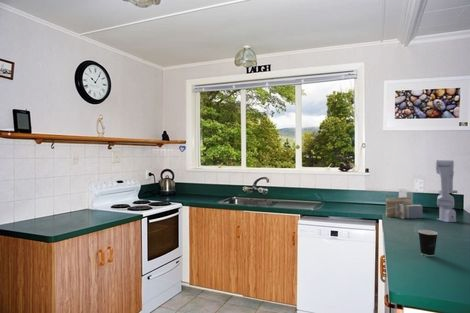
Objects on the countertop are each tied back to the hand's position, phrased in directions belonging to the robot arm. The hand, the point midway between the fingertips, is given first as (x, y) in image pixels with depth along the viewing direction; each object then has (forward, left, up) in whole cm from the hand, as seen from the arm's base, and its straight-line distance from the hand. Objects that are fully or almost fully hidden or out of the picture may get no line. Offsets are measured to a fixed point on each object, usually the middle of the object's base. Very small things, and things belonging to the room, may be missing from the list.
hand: (447, 203), depth 231 cm
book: (+3, +27, -10) cm, 29 cm away
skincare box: (+35, +7, -11) cm, 37 cm away
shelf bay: (+5, +35, -10) cm, 37 cm away
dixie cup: (-73, +85, -11) cm, 113 cm away
